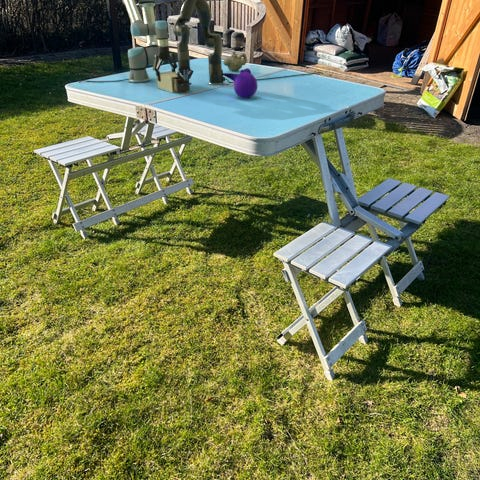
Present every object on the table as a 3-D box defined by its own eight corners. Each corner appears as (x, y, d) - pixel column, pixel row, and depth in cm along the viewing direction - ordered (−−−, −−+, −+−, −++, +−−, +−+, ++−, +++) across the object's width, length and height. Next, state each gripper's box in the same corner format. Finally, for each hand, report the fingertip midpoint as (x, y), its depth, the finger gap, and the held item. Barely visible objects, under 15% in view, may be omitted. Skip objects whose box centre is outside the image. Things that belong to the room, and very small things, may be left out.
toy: (243, 90, 304) (257, 103, 283) (218, 85, 297) (231, 99, 276) (249, 66, 296) (264, 78, 275) (224, 61, 289) (238, 73, 268)
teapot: (227, 73, 359) (226, 53, 351) (220, 71, 367) (219, 51, 360) (250, 70, 368) (249, 51, 360) (242, 68, 376) (242, 49, 369)
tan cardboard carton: (186, 90, 309) (185, 75, 304) (172, 92, 303) (171, 77, 298) (171, 85, 323) (170, 71, 317) (158, 88, 317) (156, 73, 312)
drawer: (194, 91, 300) (193, 78, 296) (181, 93, 295) (180, 81, 291) (175, 86, 317) (174, 73, 313) (163, 88, 312) (162, 75, 308)
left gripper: (150, 48, 295) (154, 82, 306) (180, 44, 307) (183, 78, 318) (145, 47, 300) (149, 81, 311) (175, 43, 312) (178, 76, 323)
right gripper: (177, 60, 283) (179, 88, 292) (195, 57, 289) (197, 85, 298) (171, 58, 288) (174, 86, 297) (189, 56, 295) (191, 83, 303)
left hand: (166, 79), depth 315 cm, fingers closed on tan cardboard carton, 11 cm apart
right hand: (185, 86), depth 298 cm, fingers closed
